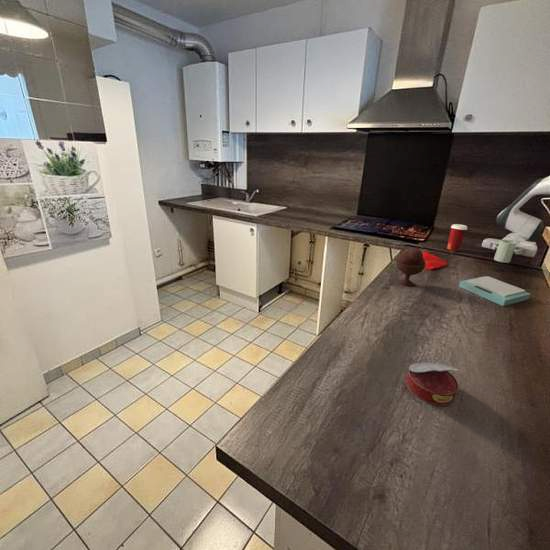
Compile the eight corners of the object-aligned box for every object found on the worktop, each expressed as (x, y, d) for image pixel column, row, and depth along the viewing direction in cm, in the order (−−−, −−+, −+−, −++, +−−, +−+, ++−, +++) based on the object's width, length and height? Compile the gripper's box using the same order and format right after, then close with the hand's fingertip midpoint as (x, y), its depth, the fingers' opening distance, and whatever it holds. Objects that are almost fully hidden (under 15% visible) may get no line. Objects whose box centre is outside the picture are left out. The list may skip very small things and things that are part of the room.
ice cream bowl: (421, 281, 120) (430, 247, 114) (418, 291, 111) (427, 254, 105) (394, 275, 125) (401, 242, 119) (389, 285, 116) (397, 249, 110)
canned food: (408, 409, 65) (393, 373, 63) (417, 379, 73) (404, 345, 71) (466, 416, 58) (451, 375, 56) (470, 382, 65) (457, 344, 63)
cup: (513, 261, 132) (520, 242, 128) (504, 263, 129) (511, 244, 126) (499, 257, 137) (505, 239, 133) (490, 259, 135) (497, 240, 131)
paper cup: (463, 251, 160) (471, 226, 154) (455, 253, 156) (463, 227, 151) (449, 247, 166) (456, 223, 160) (441, 249, 162) (448, 224, 157)
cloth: (445, 273, 129) (447, 268, 128) (412, 266, 136) (413, 262, 135) (448, 257, 150) (449, 253, 149) (419, 252, 156) (420, 248, 155)
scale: (528, 299, 108) (531, 291, 107) (503, 306, 102) (506, 298, 101) (482, 281, 122) (485, 274, 121) (458, 286, 117) (460, 279, 115)
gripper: (487, 233, 145) (480, 238, 136) (540, 243, 132) (536, 249, 123) (483, 245, 148) (476, 251, 139) (535, 256, 134) (531, 263, 125)
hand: (505, 250), depth 131 cm, fingers closed on cup, 6 cm apart
